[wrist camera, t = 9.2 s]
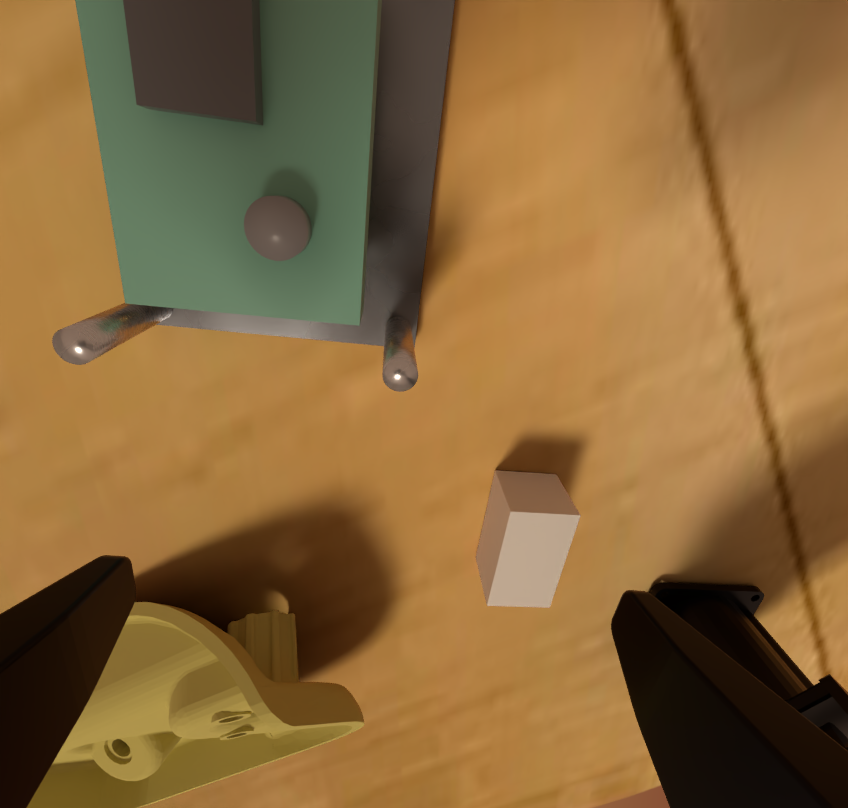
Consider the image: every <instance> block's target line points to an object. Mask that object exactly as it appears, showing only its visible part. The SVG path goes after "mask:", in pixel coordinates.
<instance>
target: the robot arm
mask: <svg viewBox="0 0 848 808" xmlns="http://www.w3.org/2000/svg"><path fill="white" fill-rule="evenodd" d="M135 598H136V587H135V581H134V575H133V569H132V564H131V561H130V559H129V558H128V557H125V556H110V555H104V556H100V557H98V558H96V559H94V560H93V561H91V562H89V563H88V564H86V565H84V566H82V567H81V568H79V569H77V570H75V571H74V572H72V573H70V574H69V575H67V576H65V577H63V578H62V579H60V580H58V581H57V582H55V583H53V584H51V585H50V586H48V587H46V588H44V589H43V590H41V591H39V592H38V593H36V594H34V595H32V596H31V597H29V598H27V599H25V600H24V601H22V602H20V603H19V604H17V605H15V606H13V607H12V608H10V609H8V610H6V611H5V612H3V613H1V614H0V808H27V806H28V805H29V803H30V801H31V800H32V798H33V796H34V794H35V793H36V791H37V789H38V788H39V786H40V784H41V782H42V781H43V779H44V777H45V776H46V774H47V772H48V770H49V769H50V767H51V765H52V764H53V762H54V760H55V758H56V757H57V755H58V753H59V751H60V750H61V748H62V746H63V745H64V743H65V741H66V739H67V738H68V736H69V734H70V733H71V731H72V729H73V727H74V726H75V724H76V722H77V721H78V719H79V717H80V715H81V714H82V712H83V710H84V708H85V706H86V705H87V703H88V701H89V699H90V697H91V695H92V693H93V691H94V689H95V687H96V685H97V683H98V681H99V679H100V677H101V675H102V672H103V670H104V668H105V666H106V664H107V662H108V659H109V657H110V655H111V653H112V651H113V649H114V646H115V644H116V642H117V640H118V638H119V636H120V634H121V631H122V629H123V627H124V625H125V623H126V621H127V618H128V616H129V614H130V612H131V610H132V608H133V605H134V602H135ZM763 598H764V594H763V592H762V591H761V590H760V589H759V588H758V587H756V586H739V585H713V584H686V583H659V584H656V585H655V586H654V587H653V588H652V590H651V592H650V593H648V592H645V591H634V590H628V591H626V592H624V593H623V595H622V597H621V599H620V602H619V604H618V606H617V609H616V611H615V613H614V616H613V618H612V623H611V630H612V635H613V639H614V642H615V646H616V649H617V653H618V656H619V660H620V664H621V667H622V671H623V674H624V678H625V681H626V685H627V688H628V692H629V695H630V699H631V702H632V706H633V709H634V712H635V715H636V719H637V722H638V724H639V727H640V730H641V733H642V735H643V738H644V741H645V743H646V746H647V748H648V751H649V754H650V756H651V759H652V761H653V764H654V767H655V769H656V772H657V775H658V777H659V780H660V782H661V785H662V788H663V790H664V793H665V795H666V798H667V801H668V803H669V806H670V808H848V692H847V691H846V690H845V689H844V688H843V687H842V686H841V685H840V684H839V683H838V682H837V681H836V680H835V679H834V678H833V677H832V676H831V675H830V674H828V675H827V676H825V677H823V678H821V679H819V681H820V683H818V684H816V685H813V684H812V683H811V682H810V681H809V679H808V678H807V677H806V676H805V675H804V674H803V672H802V671H801V670H800V669H799V668H798V667H797V665H796V664H795V663H794V662H793V661H792V660H791V658H790V657H789V656H788V655H787V654H786V653H785V651H784V650H783V649H782V648H781V647H780V646H779V644H778V643H777V642H776V641H775V640H774V639H773V637H772V636H771V635H770V634H769V633H768V632H767V630H766V629H765V628H764V627H763V626H762V625H761V623H760V622H759V621H758V620H757V619H756V618H755V616H754V613H755V611H756V610H757V608H758V606H759V605H760V603H761V602H762V600H763Z"/></svg>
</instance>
